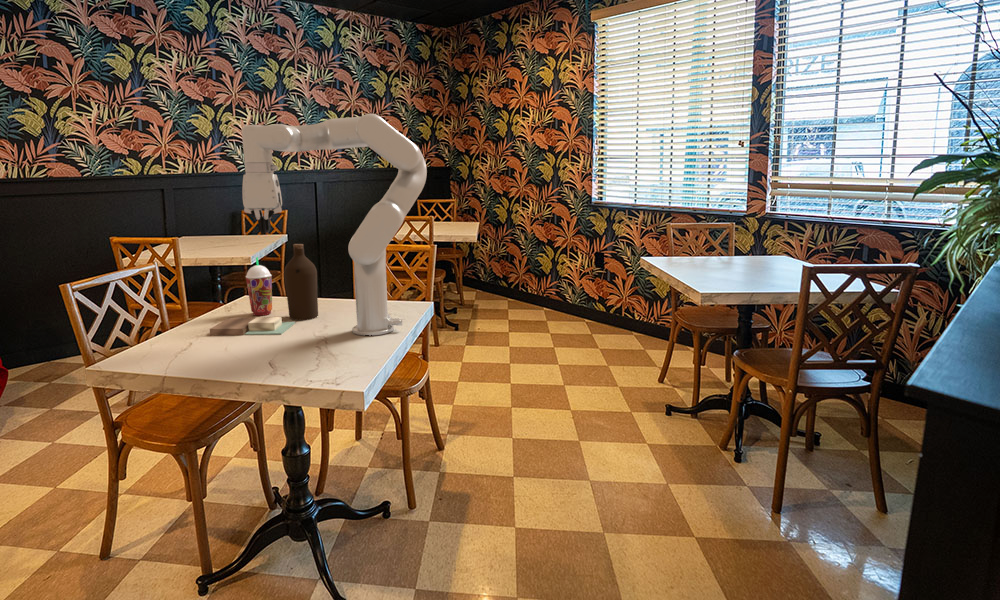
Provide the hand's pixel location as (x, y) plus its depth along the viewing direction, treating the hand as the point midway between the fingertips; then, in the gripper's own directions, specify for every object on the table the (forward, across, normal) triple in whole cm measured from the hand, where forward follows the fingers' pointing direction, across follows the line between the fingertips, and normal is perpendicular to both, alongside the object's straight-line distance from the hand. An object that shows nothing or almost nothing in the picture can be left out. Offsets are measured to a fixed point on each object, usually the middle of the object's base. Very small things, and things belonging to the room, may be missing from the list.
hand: (265, 232), depth 177 cm
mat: (+31, +3, -6) cm, 32 cm away
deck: (+31, +14, -6) cm, 35 cm away
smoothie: (+31, +13, -26) cm, 43 cm away
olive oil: (+31, -3, -21) cm, 38 cm away
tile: (+29, +5, -6) cm, 30 cm away
